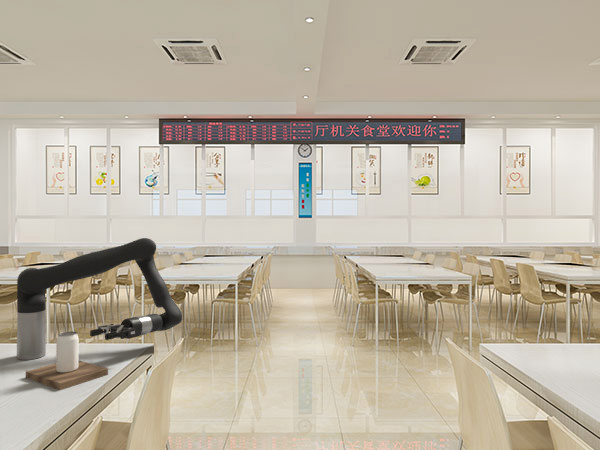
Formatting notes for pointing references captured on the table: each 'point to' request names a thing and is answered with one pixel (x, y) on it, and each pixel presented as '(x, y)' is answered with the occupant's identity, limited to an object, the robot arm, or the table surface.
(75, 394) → the table surface
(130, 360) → the table surface
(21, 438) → the table surface
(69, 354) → the can
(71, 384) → the serving board
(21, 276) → the robot arm
